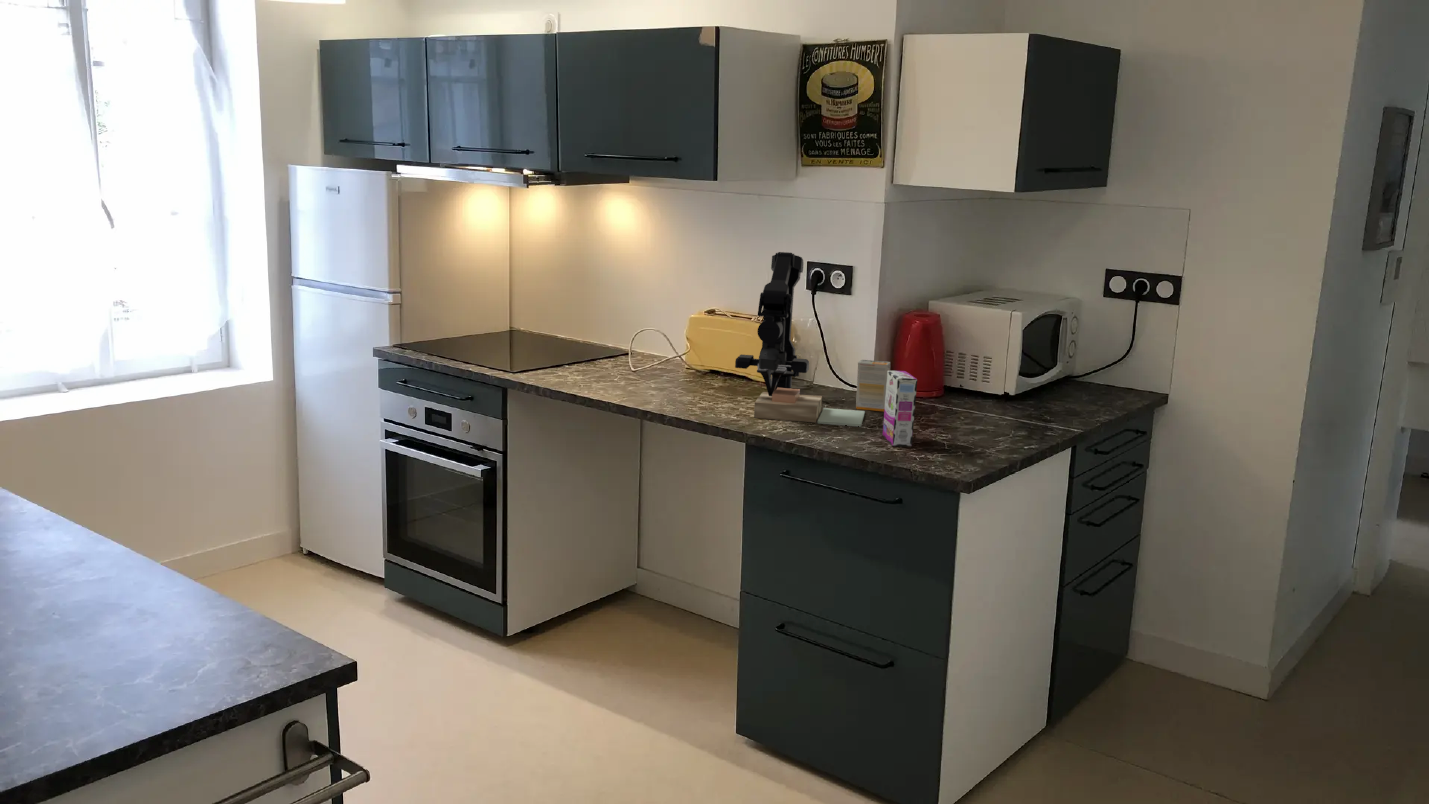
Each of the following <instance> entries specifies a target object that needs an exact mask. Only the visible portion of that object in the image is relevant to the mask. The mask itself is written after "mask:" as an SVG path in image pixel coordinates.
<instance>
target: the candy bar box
mask: <svg viewBox="0 0 1429 804" xmlns="http://www.w3.org/2000/svg"><path fill="white" fill-rule="evenodd" d="M917 387H918V379H917V377H915V376H913V375H912V374H911V373H909V372H907V371H905V370H890V371H887V383H886V396H885V409H884V412H883V425H882V436H883V437H884V438H885V439H886V440H887V442H889V444H890V445H892V447H912V446H913V438H914V437H913V434H914V423H915V411H916V403H917V402H916V401H917Z"/></svg>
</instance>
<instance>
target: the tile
mask: <svg viewBox="0 0 1429 804" xmlns="http://www.w3.org/2000/svg"><path fill="white" fill-rule="evenodd" d="M800 393H801V389H800V388H792V387H791V388H777V389H776V390H775V391H774V393H773V394H772V402H783V403H796V401H797V400H798V398H799V397H800V395H801V394H800Z"/></svg>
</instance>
